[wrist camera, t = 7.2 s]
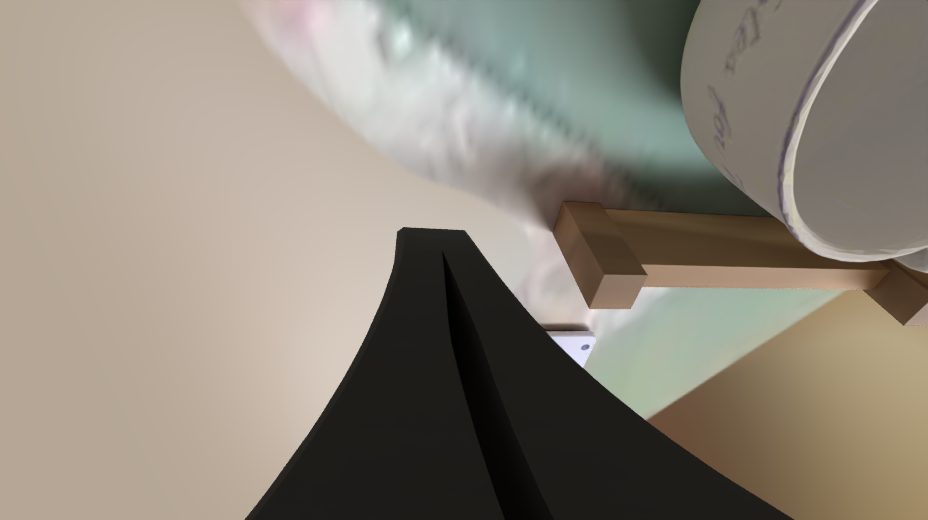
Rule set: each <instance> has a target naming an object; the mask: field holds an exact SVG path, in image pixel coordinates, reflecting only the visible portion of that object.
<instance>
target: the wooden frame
mask: <svg viewBox="0 0 928 520" xmlns="http://www.w3.org/2000/svg"><path fill="white" fill-rule="evenodd" d="M553 235H554V237H555V239H556V241H557V243H558V245H559V247H560V250H561V252H562V254H563V256H564V258H565V260H566V262H567V264H568V266H569V268H570V270H571V272H572V274H573V276H574V278H575V281H576V283H577V285H578V287H579V289H580V291H581V293H582V295H583V297H584V299H585V301H586V303H587V305H588V307H589V309H631V307H632V305H633V303H634V301H635V300H636V298H637V296H638V294H639V292H640V290H641V288H642V287H695V288H772V289H848V290H854V289H856V290H863V291H864V292H866V293H867V294H868V295H869V296H870V297H871V298H872V299H874V300H875V301H876V302H877V303H878V304H879V305H881V306H882V307H883V308H884V309H885V310H886V311H887V312H888V313H890V314H891V315H892V316H893V317H894V318H895V319H896V320H898V321H899V322H900V323H901V324H902V325H903V326H915V325H916V326H920V325H921V326H924V325H925V326H928V273H925V272H921V271H918V270H914V269H911V268H908V267H907V266H905V265H903V264H902V263H900V262H898V261H897V260H895V259H893V258H889V259H885V260H878V261H867V262H848V261H840V260H836V259H831V258H827V257H823V256H820V255H818V254H816V253H814V252H812V251H810V250H809V249H808V248H807V247H805V246H804V245H803V244H802V243H800V242H799V241H798V240H797V239H796V238H795V237H794V236H793V235H792V234H791V232H790V231H789V230H788V228H787V227H786V225H785V224H784V223H783V222H781V221H780V220H779V219H777V218H775V217H755V216H735V215H715V214H695V213H675V212H655V211H636V210H616V209H604V208H603V207H602V205H601V204H600V203H588V202H569V201H563V204H562V207H561V210H560V213H559V216H558V219H557V222H556V225H555V228H554V231H553Z"/></svg>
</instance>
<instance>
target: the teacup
mask: <svg viewBox="0 0 928 520" xmlns="http://www.w3.org/2000/svg"><path fill="white" fill-rule="evenodd" d="M680 85H681V99H682V107H683V111H684V115H685V119H686V123H687V125H688V128H689V130H690V133H691V135H692V137H693V139H694V140H695V142H696V144H697V145H698V147H699V148H700V150H701V151H702V153H703V154H704V155H705V157H706V158H707V159H708V160H709V161H710V162H711V163H712V164H713V165H714V166H715V167H716V168H717V169H718V170H719V171H720V172H721V173H722V174H723V175H724V176H725V177H726V178H727V179H728V180H729V181H731V182H732V183H733V184H734V185H735V186H736V187H738V188H739V189H740V190H741V191H742V192H744V193H745V194H746V195H747V196H749V197H750V198H751V199H752V200H753V201H755V202H756V203H757V204H758V205H760V206H761V207H762V208H764V209H765V210H766V211H768V212H769V213H770V214H772V215H773V216H775V217H776V218H777V219H779V220H780V221H781V222H783V223H784V224H785V225H786V227H787V228H788V230H789V231H790V232H791V234H792V235H793V236H794V237H795V238H796V239H797V240H798V241H799V242H800V243H802V244H803V245H804V246H805V247H807V248H808V249H809V250H810V251H812V252H814V253H816V254H818V255H820V256H823V257H827V258H831V259H836V260H840V261H848V262H867V261H878V260H885V259H889V258H893V259H895V260H897V261H898V262H900V263H902V264H903V265H905V266H907V267H908V268H911V269H914V270H918V271H921V272H925V273H928V0H701V1H700V4H699V6H698V8H697V10H696V13H695V15H694V18H693V21H692V24H691V26H690V29H689V33H688V36H687V40H686V43H685V48H684V53H683V58H682V66H681V81H680Z"/></svg>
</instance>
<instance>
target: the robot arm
mask: <svg viewBox="0 0 928 520" xmlns="http://www.w3.org/2000/svg"><path fill="white" fill-rule="evenodd" d="M595 342H596V337H595V335H594V333H593V332H591V331H545V330H544V329H543V328H542V327H541V326H540V325H539V324H538V323H537V321H536V320H535V319H534V318H533V317H532V316H531V315H530V314H529V312H528V311H527V310H526V309H525V308H524V307H523V305H522V304H521V303H520V302H519V301H518V299H517V298H516V297H515V296H514V294H513V293H512V292H511V291H510V290H509V289H508V287H507V286H506V285H505V283H504V282H503V281H502V280H501V278H500V277H499V276H498V274H497V273H496V272H495V270H494V269H493V268H492V266H491V265H490V264H489V262H488V261H487V260H486V259H485V257H484V256H483V255H482V253H481V252H480V250H479V249H478V248H477V246H476V245H475V243H474V242H473V241H472V239H471V238H470V236H469V235H468V234H467V233H466V232H465V231H464V230H448V229H428V228H408V227H403V228H402V229H400V230H399V231H398V232H397V239H396V250H395V260H394V265H393V269H392V273H391V276H390V279H389V282H388V284H387V287H386V290H385V293H384V296H383V299H382V301H381V304H380V306H379V308H378V310H377V313H376V315H375V317H374V319H373V322H372V324H371V326H370V328H369V331H368V333H367V335H366V337H365V339H364V341H363V343H362V345H361V347H360V349H359V351H358V353H357V355H356V357H355V358H354V360H353V362H352V364H351V366H350V368H349V370H348V371H347V373H346V375H345V377H344V378H343V380H342V382H341V383H340V385H339V386H338V388H337V390H336V391H335V393H334V395H333V396H332V398H331V399H330V401H329V403H328V404H327V406H326V408H325V409H324V411H323V412H322V414H321V416H320V417H319V419H318V420H317V422H316V423H315V425H314V426H313V428H312V429H311V431H310V432H309V434H308V435H307V437H306V438H305V439H304V441H303V442H302V443H301V445H300V446H299V448H298V449H297V450H296V452H295V453H294V455H293V456H292V457H291V459H290V460H289V462H288V463H287V464H286V466H285V467H284V468H283V470H282V471H281V473H280V474H279V476H278V477H277V478H276V480H275V481H274V482H273V484H272V485H271V486H270V488H269V489H268V491H267V492H266V493H265V495H264V496H263V497H262V499H261V500H260V501H259V502H258V504H257V505H256V506H255V507H254V509H253V510H252V511H251V512H250V514H249V515H248V516H247V517H246V518H245V520H794V519H792V518H791V517H789V516H787V515H786V514H784V513H783V512H781V511H779V510H777V509H776V508H775V507H773V506H771V505H769V504H768V503H767V502H765V501H763V500H762V499H760V498H759V497H757V496H755V495H754V494H752V493H750V492H749V491H747V490H746V489H744V488H742V487H741V486H739V485H738V484H736V483H734V482H733V481H731V480H730V479H728V478H726V477H725V476H723V475H722V474H720V473H718V472H717V471H716V470H714V469H713V468H711V467H710V466H708V465H707V464H705V463H704V462H703V461H701V460H700V459H698V458H697V457H695V456H694V455H693V454H691V453H690V452H688V451H687V450H685V449H684V448H682V447H681V446H680V445H678V444H677V443H675V442H674V441H672V440H671V439H670V438H668V437H667V436H666V435H664V434H663V433H662V432H660V431H659V430H658V429H656V428H655V427H654V426H652V425H651V424H649V423H648V422H647V421H646V420H644V419H643V418H642V417H641V416H639V415H638V414H637V413H636V412H634V411H633V410H632V409H631V408H629V407H628V406H627V405H626V404H624V403H623V402H622V401H621V400H619V399H618V398H617V397H616V396H614V395H613V394H612V393H611V392H610V391H608V390H607V389H606V388H605V387H604V386H603V385H601V384H600V383H599V382H598V381H597V380H596V379H594V378H593V377H592V376H591V375H590V374H589V373H588V372H587V371H586V370H585V369H584V368H583V366H584V364H585V362H586V360H587V358H588V356H589V354H590V352H591V350H592V348H593V346H594V344H595Z"/></svg>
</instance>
